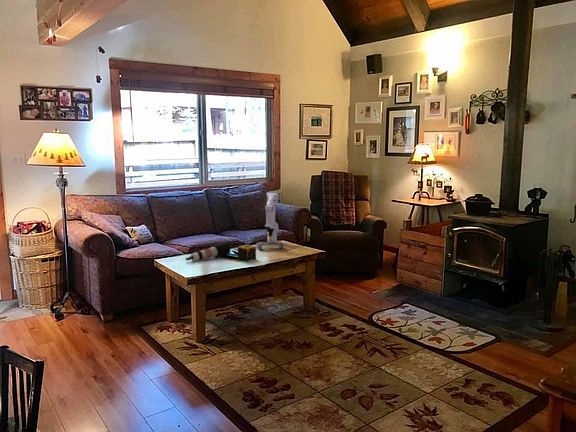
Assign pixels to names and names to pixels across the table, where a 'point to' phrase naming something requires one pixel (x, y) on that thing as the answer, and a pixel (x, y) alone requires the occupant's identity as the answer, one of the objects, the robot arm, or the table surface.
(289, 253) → the table surface
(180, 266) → the table surface
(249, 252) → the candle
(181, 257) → the table surface
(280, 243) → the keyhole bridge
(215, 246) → the white black cylinder
